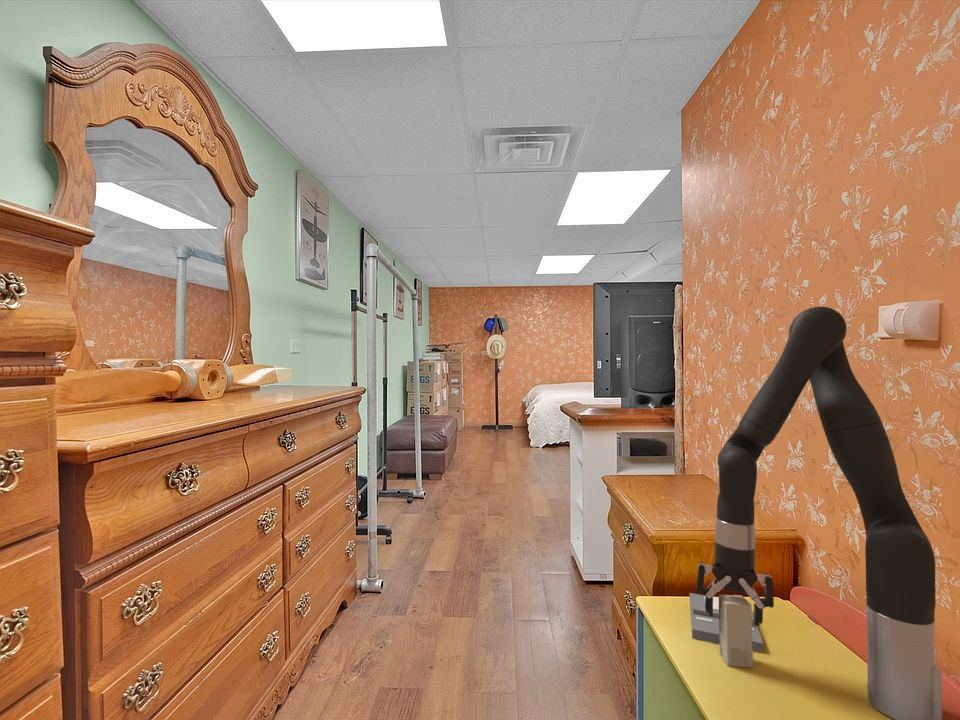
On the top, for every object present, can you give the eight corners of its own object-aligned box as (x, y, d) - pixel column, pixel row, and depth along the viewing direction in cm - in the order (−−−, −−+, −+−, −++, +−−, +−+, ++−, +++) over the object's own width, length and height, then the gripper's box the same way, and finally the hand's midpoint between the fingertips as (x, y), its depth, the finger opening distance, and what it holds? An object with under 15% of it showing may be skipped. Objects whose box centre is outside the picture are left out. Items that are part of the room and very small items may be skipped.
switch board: (749, 611, 120) (749, 602, 120) (763, 653, 101) (763, 642, 102) (689, 600, 125) (689, 592, 125) (692, 638, 107) (692, 628, 107)
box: (743, 656, 100) (743, 594, 101) (753, 668, 96) (753, 604, 96) (717, 654, 101) (717, 593, 101) (726, 666, 96) (726, 602, 97)
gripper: (698, 541, 99) (696, 619, 98) (777, 554, 93) (775, 636, 93) (697, 531, 106) (695, 603, 105) (770, 542, 100) (769, 619, 100)
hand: (733, 619), depth 99 cm, fingers open, 8 cm apart
